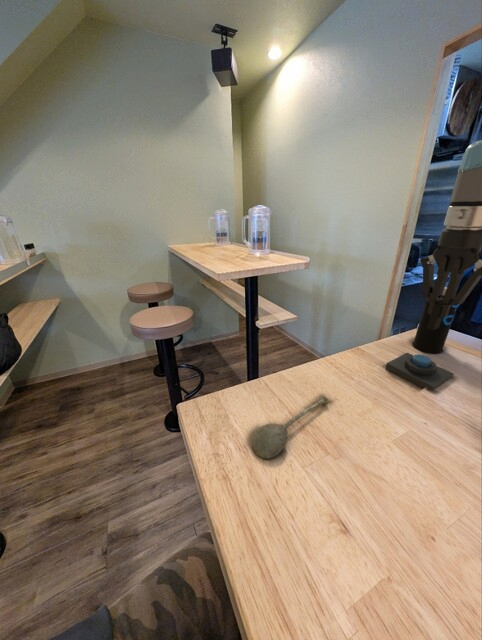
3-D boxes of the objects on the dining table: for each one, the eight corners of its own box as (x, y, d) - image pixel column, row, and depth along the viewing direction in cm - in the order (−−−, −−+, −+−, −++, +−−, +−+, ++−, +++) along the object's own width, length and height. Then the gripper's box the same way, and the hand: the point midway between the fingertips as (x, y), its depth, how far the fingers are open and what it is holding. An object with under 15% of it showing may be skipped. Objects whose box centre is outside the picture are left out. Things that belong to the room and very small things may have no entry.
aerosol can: (409, 348, 81) (426, 289, 73) (415, 338, 86) (431, 282, 78) (440, 357, 76) (463, 294, 67) (444, 346, 81) (465, 287, 73)
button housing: (451, 380, 66) (456, 367, 65) (431, 394, 62) (435, 381, 60) (405, 358, 76) (408, 347, 74) (385, 369, 72) (387, 357, 70)
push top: (432, 365, 67) (434, 359, 66) (424, 370, 65) (426, 364, 64) (416, 358, 70) (418, 352, 69) (408, 362, 68) (410, 357, 67)
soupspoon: (245, 444, 52) (266, 469, 47) (245, 433, 50) (266, 458, 46) (315, 394, 63) (337, 411, 58) (316, 384, 61) (340, 400, 57)
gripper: (421, 227, 56) (398, 322, 66) (497, 231, 46) (455, 342, 56) (439, 225, 60) (414, 315, 70) (513, 228, 49) (471, 334, 59)
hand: (432, 327), depth 63 cm, fingers closed
